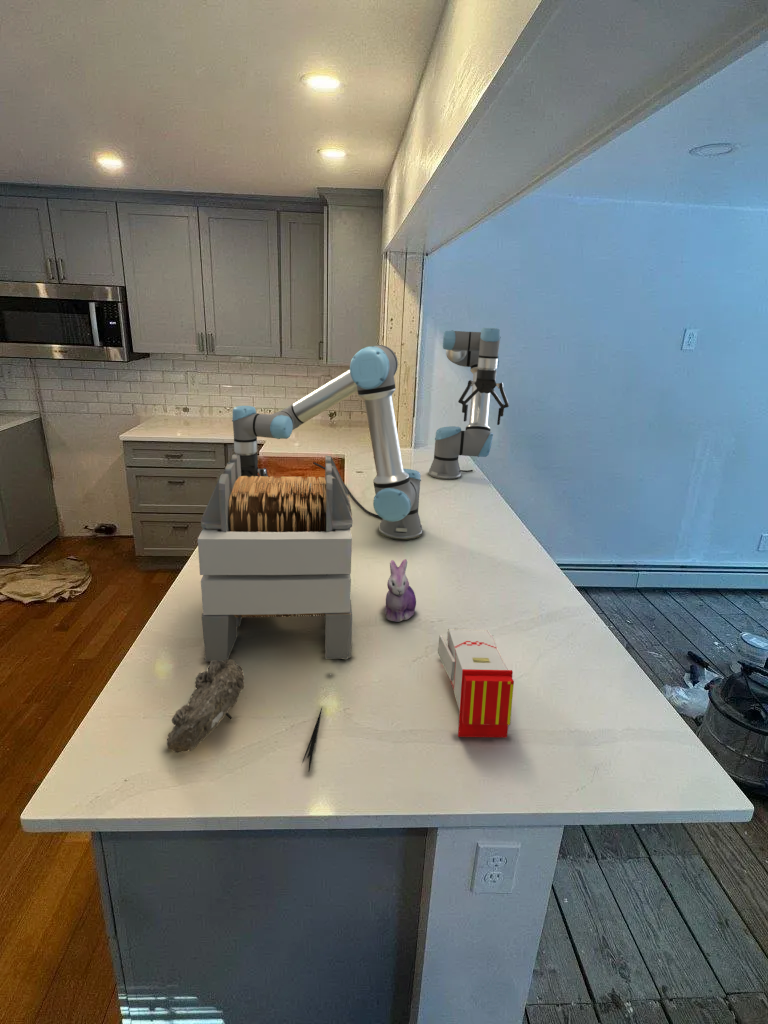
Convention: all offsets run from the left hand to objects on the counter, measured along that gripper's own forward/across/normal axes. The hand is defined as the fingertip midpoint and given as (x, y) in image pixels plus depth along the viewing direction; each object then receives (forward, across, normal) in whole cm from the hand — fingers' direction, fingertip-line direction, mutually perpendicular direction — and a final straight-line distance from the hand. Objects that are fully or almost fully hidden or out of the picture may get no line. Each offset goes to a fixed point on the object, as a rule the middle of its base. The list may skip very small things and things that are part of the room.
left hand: (249, 512), depth 197 cm
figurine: (+6, -66, +38) cm, 76 cm away
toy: (+7, -89, +63) cm, 109 cm away
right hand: (-26, -68, -68) cm, 100 cm away
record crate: (+6, -40, +52) cm, 66 cm away
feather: (+6, -63, +82) cm, 103 cm away
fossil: (+6, -44, +88) cm, 98 cm away
